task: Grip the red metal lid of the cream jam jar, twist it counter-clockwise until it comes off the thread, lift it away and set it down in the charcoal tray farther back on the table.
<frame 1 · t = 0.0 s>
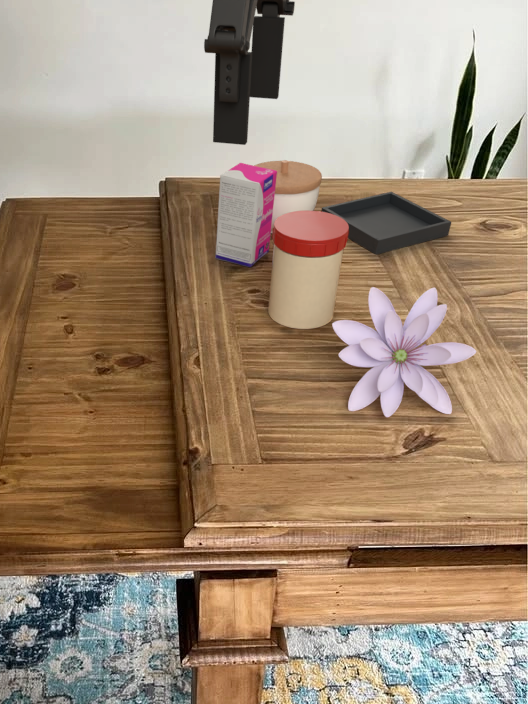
hand: (248, 118, 65), 26 cm above the table, tool pointing down, fingers open, 13 cm apart
jam lid: (310, 228, 83), point 11 cm above the table, screwed on, not yet turned
tray: (382, 228, 108), on the table
jam jar: (300, 312, 90), on the table
trinket box: (279, 227, 110), on the table
supplement box: (242, 257, 102), on the table
water lily: (387, 397, 77), on the table
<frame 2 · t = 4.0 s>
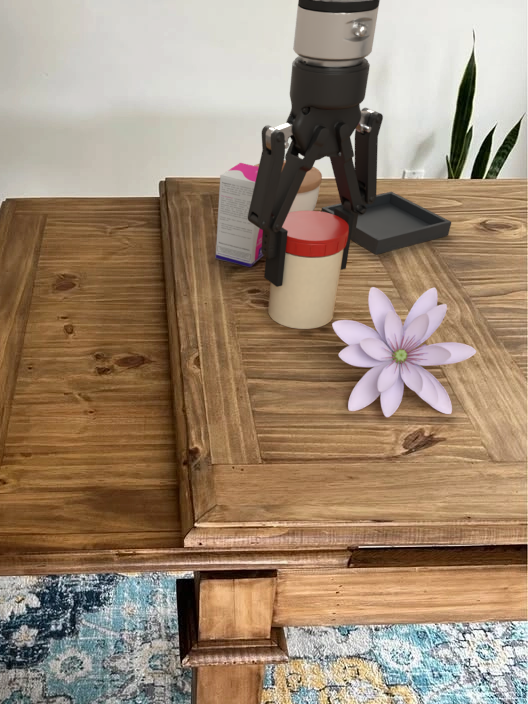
hand: (305, 272, 87), 5 cm above the table, tool pointing down, fingers closed on jam lid, 8 cm apart
jam lid: (310, 228, 83), point 11 cm above the table, screwed on, not yet turned, touching gripper
everything else where it was.
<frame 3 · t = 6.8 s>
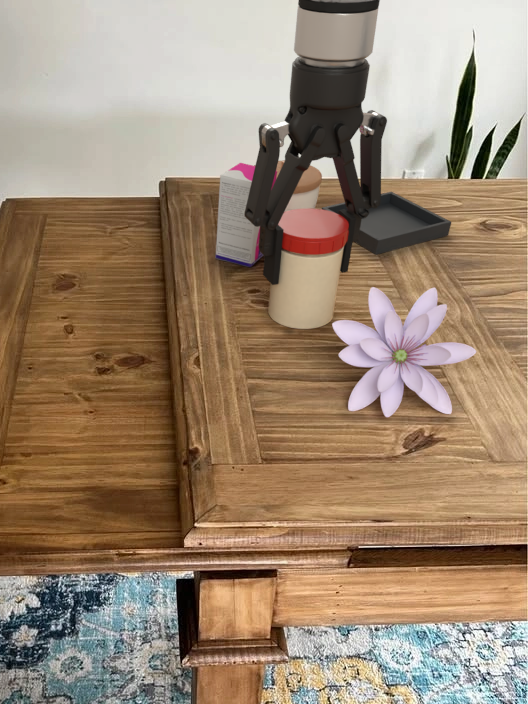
hand: (305, 273, 87), 5 cm above the table, tool pointing down, fingers closed on jam lid, 8 cm apart
jam lid: (310, 226, 83), point 11 cm above the table, off its thread, touching gripper
everything else where it was.
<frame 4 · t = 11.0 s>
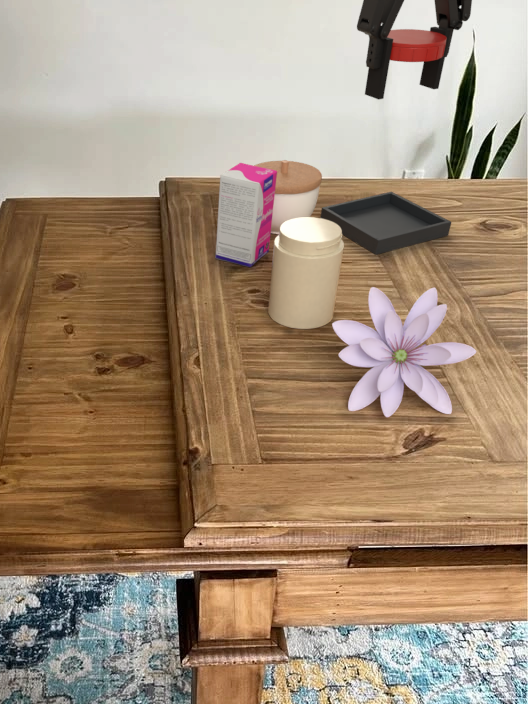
hand: (401, 91, 93), 19 cm above the table, tool pointing down, fingers closed on jam lid, 8 cm apart
jam lid: (410, 40, 90), point 25 cm above the table, off its thread, touching gripper
everything else where it was.
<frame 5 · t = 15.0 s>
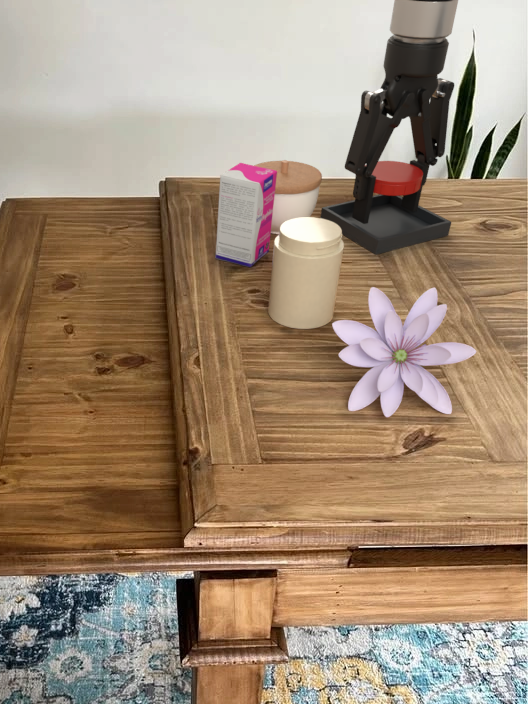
hand: (384, 214, 107), 2 cm above the table, tool pointing down, fingers closed on jam lid, 8 cm apart
jam lid: (391, 174, 103), point 8 cm above the table, off its thread, touching gripper
everything else where it was.
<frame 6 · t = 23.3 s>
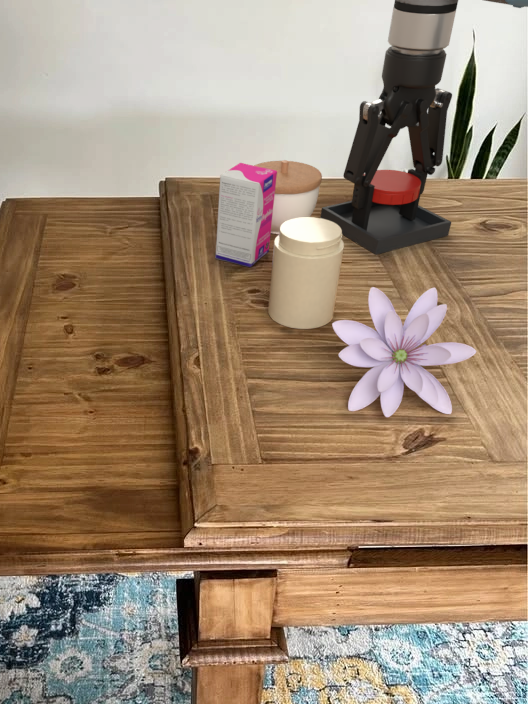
hand: (383, 222, 108), 1 cm above the table, tool pointing down, fingers closed on jam lid, 8 cm apart
jam lid: (390, 183, 104), point 7 cm above the table, off its thread, touching gripper
everything else where it was.
when the fingers open (2 cm above the table, at t = 27.2 s): jam lid drops 6 cm, resting on tray.
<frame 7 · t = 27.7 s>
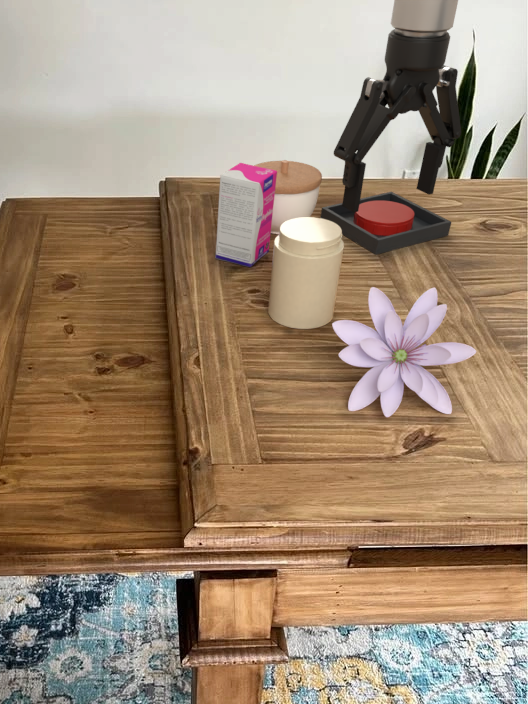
hand: (388, 200, 106), 4 cm above the table, tool pointing down, fingers open, 13 cm apart
jam lid: (384, 214, 107), point 2 cm above the table, off its thread, touching tray
everything else where it was.
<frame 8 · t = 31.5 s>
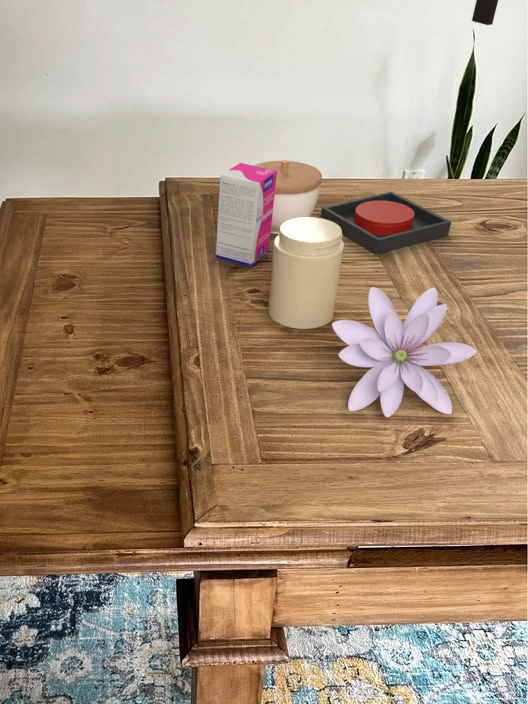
hand: (524, 17, 90), 27 cm above the table, tool pointing down, fingers open, 13 cm apart
nothing on the table moved.
at the end: jam lid inside the target area in the tray (0.1 cm from its centre), point 2.1 cm above the tray's base; the gripper is holding nothing; jam lid moved 30.4 cm from its start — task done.
